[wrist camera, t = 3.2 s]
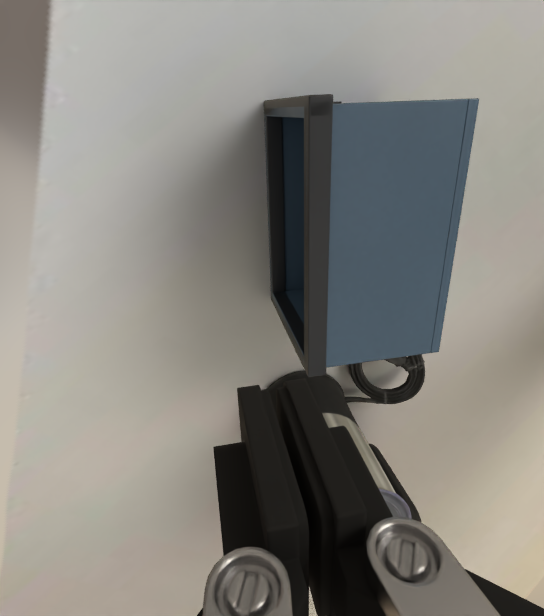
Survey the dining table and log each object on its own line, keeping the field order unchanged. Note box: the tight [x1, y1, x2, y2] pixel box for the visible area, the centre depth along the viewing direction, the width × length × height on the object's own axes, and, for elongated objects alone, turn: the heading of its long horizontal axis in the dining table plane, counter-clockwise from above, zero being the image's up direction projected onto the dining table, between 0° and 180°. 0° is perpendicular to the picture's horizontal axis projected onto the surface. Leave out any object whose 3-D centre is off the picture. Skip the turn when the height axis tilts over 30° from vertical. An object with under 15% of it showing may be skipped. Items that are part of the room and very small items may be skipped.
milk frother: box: [267, 354, 425, 522], centre depth 36 cm, size 14×16×15 cm
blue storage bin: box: [264, 94, 479, 377], centre depth 29 cm, size 9×16×12 cm, turn 2°
